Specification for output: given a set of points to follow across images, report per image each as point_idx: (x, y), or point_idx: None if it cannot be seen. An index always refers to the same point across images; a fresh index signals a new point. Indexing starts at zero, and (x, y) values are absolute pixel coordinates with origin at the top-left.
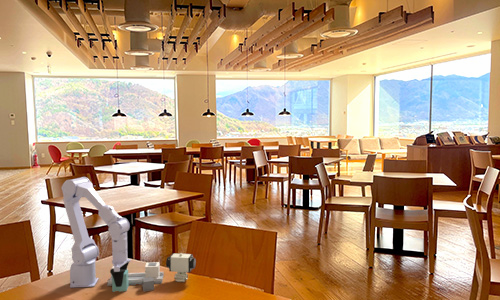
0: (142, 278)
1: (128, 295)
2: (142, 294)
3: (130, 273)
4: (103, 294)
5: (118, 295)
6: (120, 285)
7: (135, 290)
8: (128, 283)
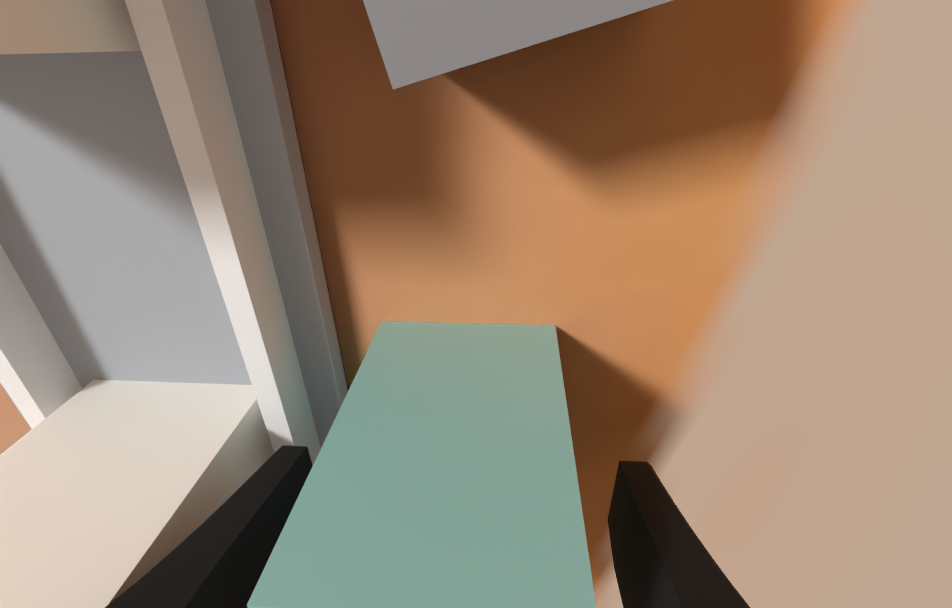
0: (414, 82)
1: (735, 279)
2: (797, 13)
3: (8, 374)
4: (599, 535)
5: (682, 404)
6: (656, 489)
7: (556, 193)
8: (373, 349)
